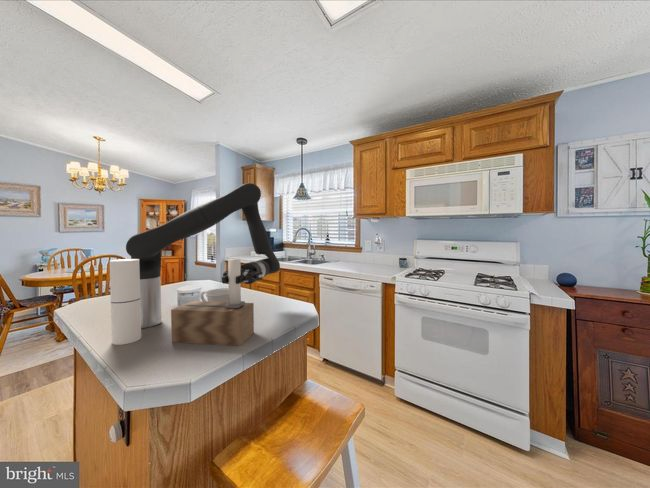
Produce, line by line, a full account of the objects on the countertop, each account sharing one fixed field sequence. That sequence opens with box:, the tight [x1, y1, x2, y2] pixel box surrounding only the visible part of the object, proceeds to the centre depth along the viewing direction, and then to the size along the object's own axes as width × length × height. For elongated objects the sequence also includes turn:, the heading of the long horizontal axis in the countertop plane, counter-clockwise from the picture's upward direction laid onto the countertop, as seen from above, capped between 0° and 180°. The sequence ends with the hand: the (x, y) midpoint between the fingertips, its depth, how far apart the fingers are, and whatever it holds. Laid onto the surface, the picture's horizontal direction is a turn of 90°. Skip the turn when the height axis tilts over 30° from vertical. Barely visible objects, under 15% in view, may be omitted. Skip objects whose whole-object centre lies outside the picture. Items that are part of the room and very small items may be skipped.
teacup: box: [200, 287, 229, 302], centre depth 101 cm, size 12×15×10 cm
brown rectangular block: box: [170, 300, 255, 346], centre depth 80 cm, size 22×10×10 cm, turn 84°
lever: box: [224, 258, 246, 308], centre depth 78 cm, size 4×5×15 cm
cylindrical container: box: [109, 258, 142, 346], centre depth 77 cm, size 7×7×25 cm
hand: (230, 280), depth 76 cm, fingers closed on lever, 3 cm apart
